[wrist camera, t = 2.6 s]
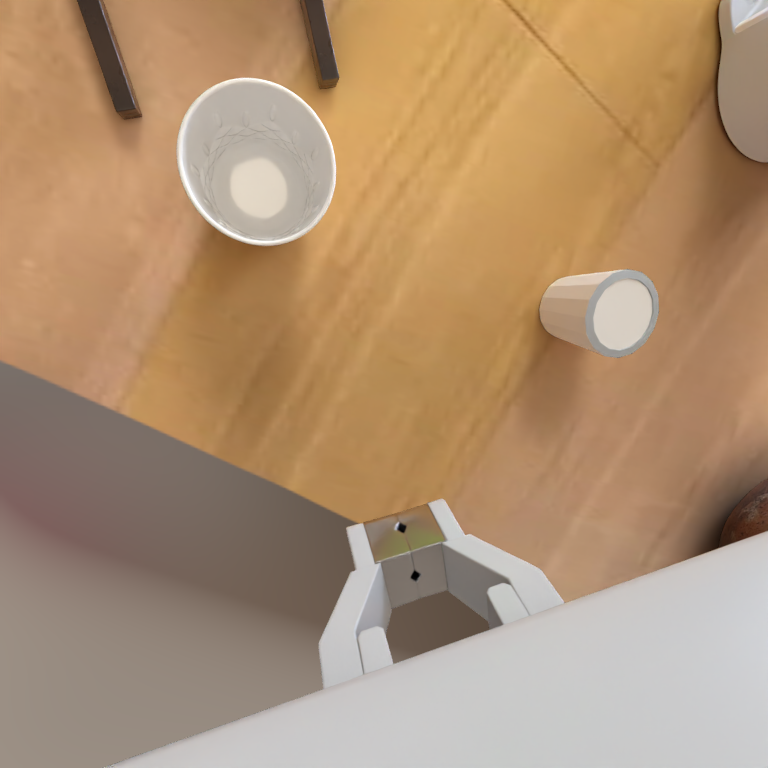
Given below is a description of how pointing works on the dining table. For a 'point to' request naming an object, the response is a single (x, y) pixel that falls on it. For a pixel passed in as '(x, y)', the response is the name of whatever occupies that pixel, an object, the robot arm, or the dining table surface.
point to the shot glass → (602, 311)
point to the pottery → (747, 516)
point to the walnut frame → (118, 75)
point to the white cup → (256, 161)
